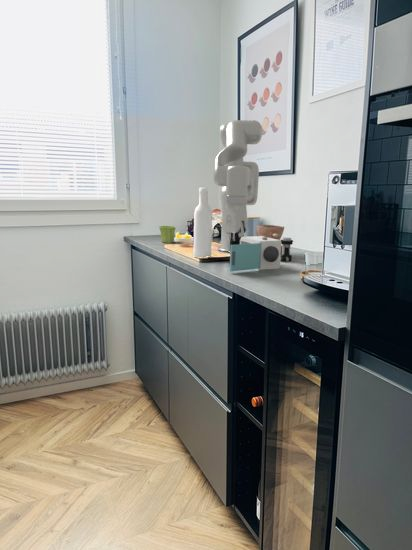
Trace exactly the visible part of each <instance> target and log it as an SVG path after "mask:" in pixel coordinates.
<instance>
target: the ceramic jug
mask: <svg viewBox="0 0 412 550" xmlns="http://www.w3.org/2000/svg"><path fill="white" fill-rule="evenodd" d="M256 230H257V234H258V235H257V236H263V237H268V238H273V239H277V240H282V236H283V234H284V230H285V226H282V225H281V226H280V225H273V224H258V225H256ZM280 255H282V244H281V254H280Z"/></svg>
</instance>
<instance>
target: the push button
mask: <svg viewBox="0 0 412 550" xmlns="http://www.w3.org/2000/svg"><path fill="white" fill-rule="evenodd" d="M280 240H281V245H282V255H280V263H281V262H283V263H284V262H292V260H293V255H292V254H291V246H292V245H293V242H294V240H292V237H282V238H281V239H280Z"/></svg>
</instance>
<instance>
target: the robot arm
mask: <svg viewBox="0 0 412 550" xmlns="http://www.w3.org/2000/svg"><path fill="white" fill-rule="evenodd" d="M262 135H263V128H262V124H261V122H259V120H248V119H247V120H245V119H244V120H242V119H241V120H239V119H236V120H232V121H230V122H229V123H223V124H222V125H221V126H220V128H219V137H220V141H221V144H222V146H223V149H222V150H221V151H220V152H219V153H217V155H216V156H215V159H214V163H213V182H214V184H215V185H216V186H218V187H222V188H221V189H220V200H221V227H220V231H221V233H220V235H221V237H220V238H221V239H220V241H219V244H220V246H218V247H217V251H219V250H221V251H220V252H223V251H230V247H231V245H237V244H240V240H241V237H245V233H246V232H247V228H248V211H247V206H254V205H256V203H257V200H258V194H259V192H258V191H259V179H260V178H259V176H260V168H259V165H258V164H257V162H255V161H244V157H245V156H247V155H246V154H247V152H248V145H258V144H259V143H260V142H261V139H262Z"/></svg>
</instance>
